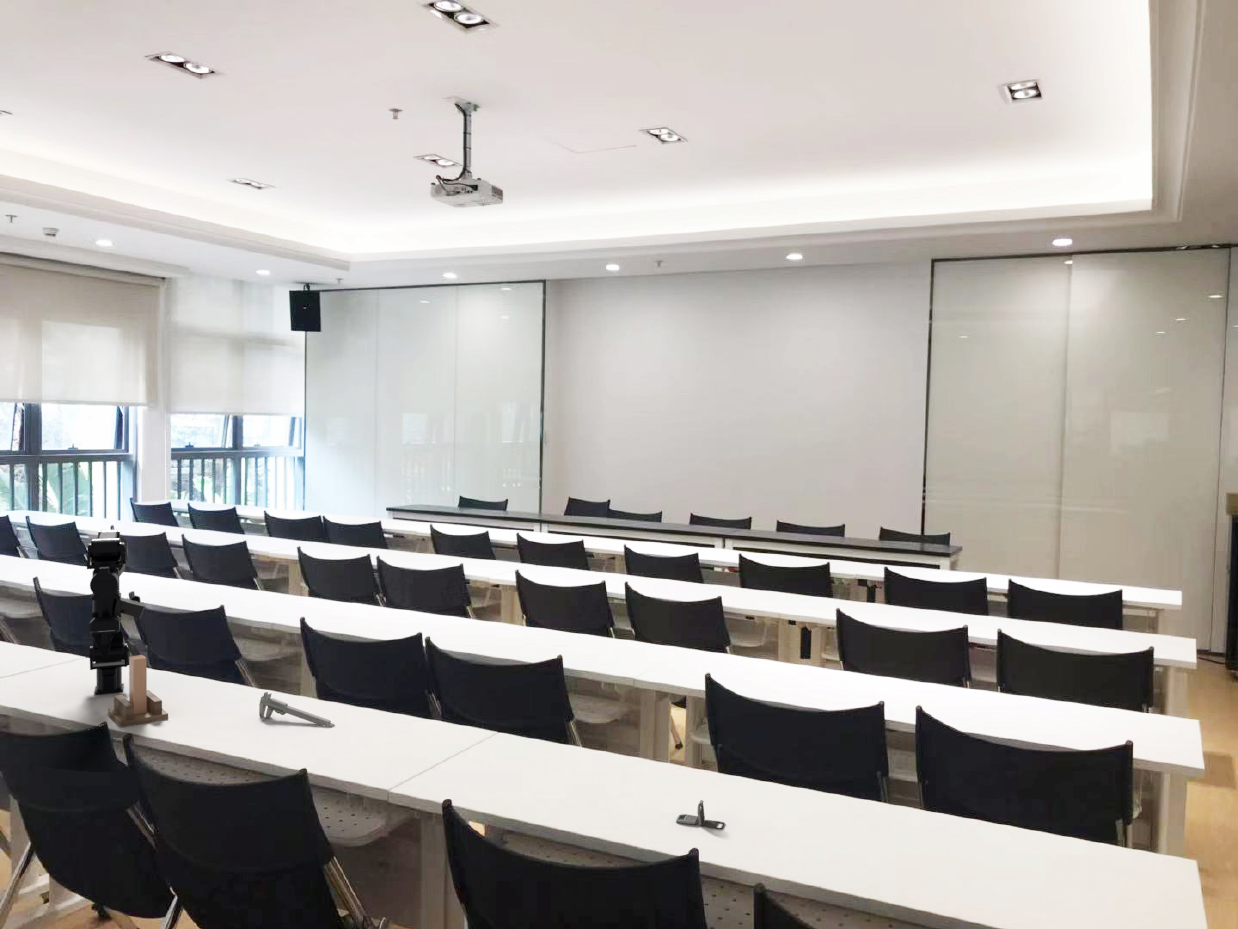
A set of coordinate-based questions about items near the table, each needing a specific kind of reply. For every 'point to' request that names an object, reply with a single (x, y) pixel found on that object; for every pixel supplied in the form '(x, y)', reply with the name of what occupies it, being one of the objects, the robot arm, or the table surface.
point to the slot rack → (126, 716)
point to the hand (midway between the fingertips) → (106, 653)
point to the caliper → (288, 710)
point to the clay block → (138, 683)
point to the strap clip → (699, 819)
